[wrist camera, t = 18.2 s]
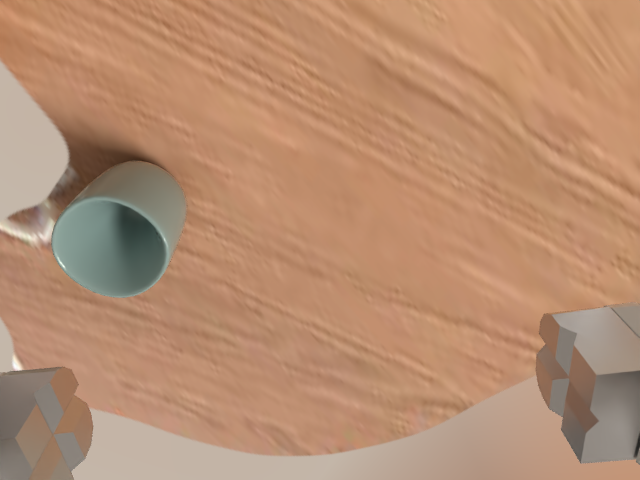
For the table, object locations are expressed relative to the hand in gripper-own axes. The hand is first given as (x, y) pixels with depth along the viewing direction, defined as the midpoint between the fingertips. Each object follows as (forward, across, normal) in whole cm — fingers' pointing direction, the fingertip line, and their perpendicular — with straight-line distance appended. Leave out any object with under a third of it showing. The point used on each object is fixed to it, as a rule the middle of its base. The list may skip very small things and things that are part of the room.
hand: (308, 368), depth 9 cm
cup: (+34, +14, +9) cm, 38 cm away
